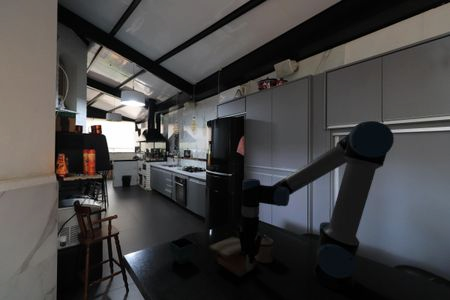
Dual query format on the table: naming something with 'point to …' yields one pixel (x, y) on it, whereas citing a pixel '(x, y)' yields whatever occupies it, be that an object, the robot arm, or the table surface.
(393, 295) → the table surface
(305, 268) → the table surface
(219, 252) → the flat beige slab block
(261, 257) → the teacup with lid
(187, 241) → the flower pot
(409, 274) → the table surface
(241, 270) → the tile
